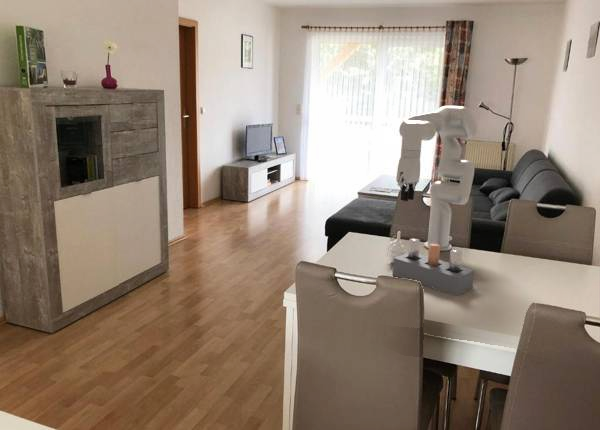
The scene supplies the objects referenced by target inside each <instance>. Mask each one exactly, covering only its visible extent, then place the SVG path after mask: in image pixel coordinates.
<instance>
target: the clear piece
mask: <svg viewBox="0 0 600 430" xmlns="http://www.w3.org/2000/svg"><path fill="white" fill-rule="evenodd" d="M462 255H463V251H462V250H461V249H456V248H453V249H452V248H451V249H450V253H449V262H448V263H449V271H450V272H454V273H459V272H460V266H462V264H461V263H462V257H463V256H462Z"/></svg>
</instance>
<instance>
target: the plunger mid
mask: <svg viewBox="0 0 600 430" xmlns="http://www.w3.org/2000/svg"><path fill="white" fill-rule="evenodd" d="M440 253H441V251H440V245H438V244H430V245H429V249H428V255H427V257H428V265H430V266H434V267H437V266H438V264H439V260H440Z"/></svg>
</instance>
